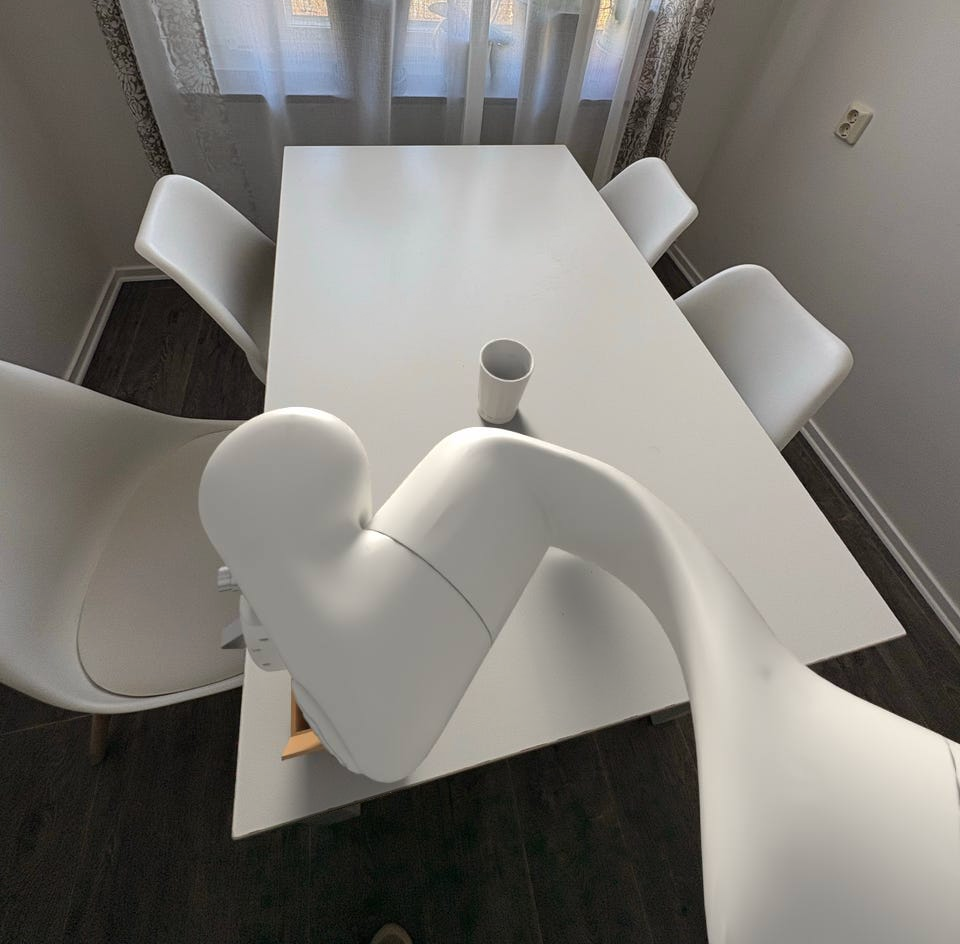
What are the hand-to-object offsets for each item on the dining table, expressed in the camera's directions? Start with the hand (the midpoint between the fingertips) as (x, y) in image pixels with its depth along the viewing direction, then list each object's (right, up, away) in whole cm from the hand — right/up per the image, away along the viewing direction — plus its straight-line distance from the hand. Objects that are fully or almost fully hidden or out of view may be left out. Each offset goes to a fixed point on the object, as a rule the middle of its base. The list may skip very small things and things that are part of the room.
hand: (339, 639), depth 45 cm
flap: (+1, -7, -1) cm, 7 cm away
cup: (+14, +12, +40) cm, 44 cm away
